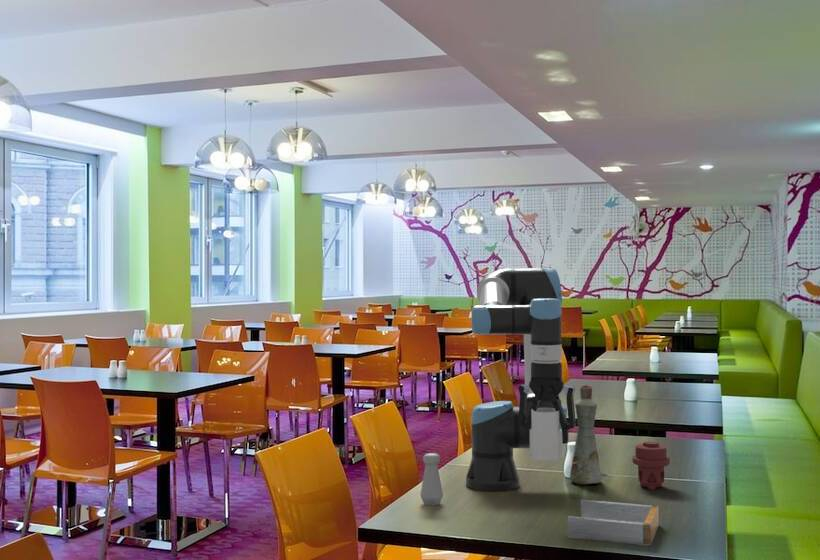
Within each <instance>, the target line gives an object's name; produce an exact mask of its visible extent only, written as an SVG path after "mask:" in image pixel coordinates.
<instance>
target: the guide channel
mask: <svg viewBox="0 0 820 560" xmlns="http://www.w3.org/2000/svg"><path fill="white" fill-rule="evenodd" d="M659 510H660V509H659V505H649V504H638V503H637V504H636V503H630V502H629V503H626V502H615V501H605V500H603V501H602V500H594V499H593V500H592V499H581V500H580V516H575V515H574V516H573V515H568V516H567V538H568V539H578V540H587V541H596V542H606V543H607V542H608V543H618V544H627V545H636V546H637V545H638V546H645V547H647V546H648V547H651V546H652V543H653V540H654V538H655V535H656V533H657V531H658V528H659V526H660V523H659V522H660V521H659V520H660V516H659V515H660V514H659V513H660V511H659Z"/></svg>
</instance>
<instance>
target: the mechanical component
mask: <svg viewBox="0 0 820 560" xmlns="http://www.w3.org/2000/svg"><path fill="white" fill-rule="evenodd" d="M631 462H632V464H634V465H636V466H637V470H638V471H637V474H638V475H637V476H638V477H637V480H638V482H639V486H641V487H645V488H647V489H649V490H652V491H653V490H655V489H656V488H660V487H662V486H663V484H664V483H665V467H667V466H670V464H671V461H670V458H669V456H667V446H665V445H664V444H660V443H659V442H658V441H650V440H649V441H644V442H643V443H638V444H636V445H635V455H633V456H632V461H631Z"/></svg>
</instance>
